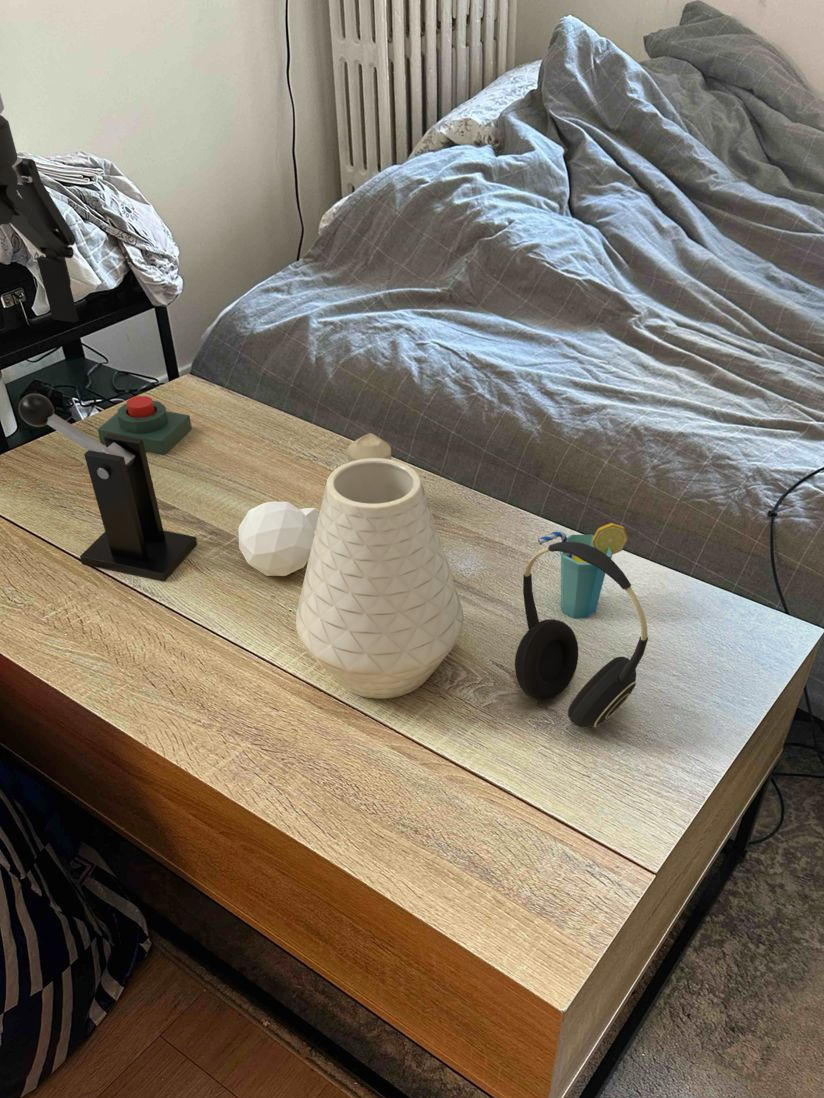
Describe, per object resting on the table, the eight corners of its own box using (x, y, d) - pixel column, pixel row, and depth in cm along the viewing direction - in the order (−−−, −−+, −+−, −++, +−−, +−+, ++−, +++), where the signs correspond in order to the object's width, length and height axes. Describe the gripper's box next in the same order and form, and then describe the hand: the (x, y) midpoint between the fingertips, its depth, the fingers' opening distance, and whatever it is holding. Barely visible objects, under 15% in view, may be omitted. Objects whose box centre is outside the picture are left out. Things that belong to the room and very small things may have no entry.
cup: (544, 637, 110) (553, 551, 102) (519, 606, 114) (525, 521, 106) (626, 611, 114) (641, 527, 106) (599, 582, 118) (611, 498, 110)
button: (123, 416, 136) (121, 405, 135) (137, 405, 139) (134, 394, 137) (147, 420, 135) (144, 409, 134) (160, 409, 138) (157, 398, 137)
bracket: (81, 564, 116) (48, 455, 106) (117, 528, 122) (89, 422, 112) (165, 581, 115) (139, 472, 105) (197, 544, 120) (176, 438, 110)
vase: (430, 738, 98) (429, 552, 82) (273, 698, 101) (244, 511, 85) (482, 633, 110) (490, 454, 95) (341, 600, 113) (327, 422, 98)
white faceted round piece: (295, 590, 111) (349, 548, 121) (271, 516, 107) (329, 478, 116) (237, 590, 115) (293, 549, 124) (211, 518, 111) (272, 481, 120)
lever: (9, 420, 107) (14, 396, 105) (28, 405, 110) (34, 381, 108) (116, 486, 110) (123, 464, 107) (132, 470, 112) (140, 449, 110)
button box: (100, 443, 137) (94, 417, 135) (130, 417, 143) (124, 392, 140) (164, 455, 136) (159, 429, 133) (192, 428, 141) (187, 403, 139)
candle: (356, 493, 131) (351, 426, 124) (396, 497, 130) (394, 430, 124) (347, 516, 127) (342, 448, 120) (388, 520, 126) (386, 452, 120)
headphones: (602, 762, 96) (630, 606, 83) (491, 692, 103) (499, 536, 90) (650, 718, 101) (684, 563, 88) (541, 653, 108) (556, 500, 95)
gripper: (-101, 158, 77) (-18, 403, 91) (78, 92, 95) (124, 305, 110) (-181, 147, 78) (-86, 390, 93) (11, 84, 96) (65, 295, 111)
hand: (28, 344), depth 101 cm, fingers open, 13 cm apart
